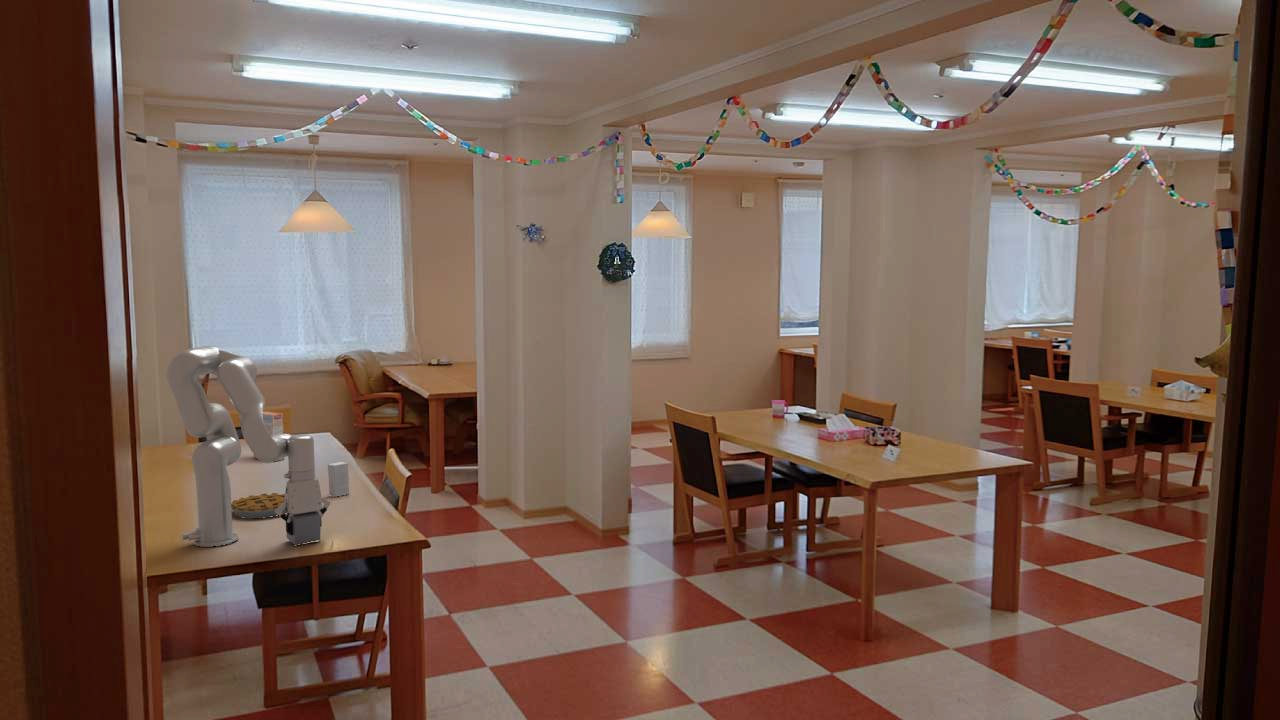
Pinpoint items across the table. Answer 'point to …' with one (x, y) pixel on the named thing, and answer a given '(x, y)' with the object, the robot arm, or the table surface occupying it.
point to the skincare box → (338, 479)
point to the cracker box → (273, 424)
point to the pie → (258, 505)
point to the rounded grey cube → (305, 528)
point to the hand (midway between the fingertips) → (304, 531)
